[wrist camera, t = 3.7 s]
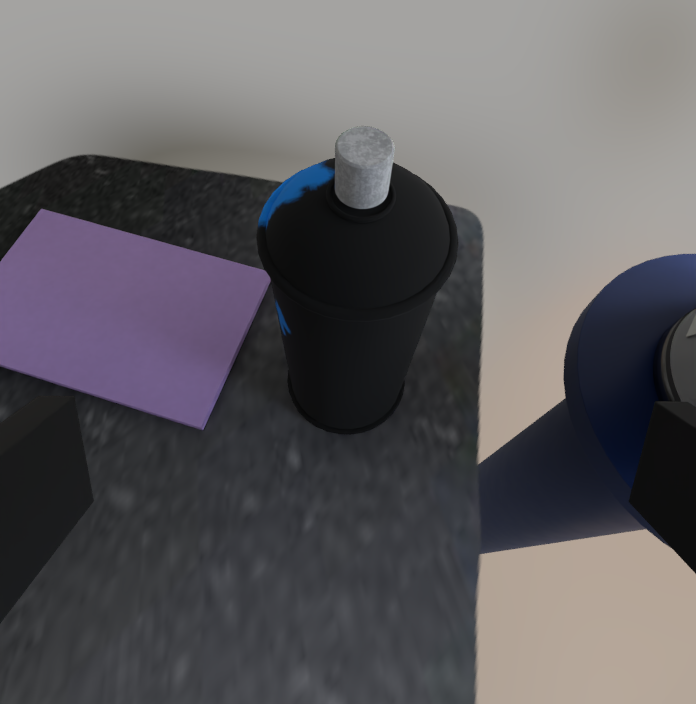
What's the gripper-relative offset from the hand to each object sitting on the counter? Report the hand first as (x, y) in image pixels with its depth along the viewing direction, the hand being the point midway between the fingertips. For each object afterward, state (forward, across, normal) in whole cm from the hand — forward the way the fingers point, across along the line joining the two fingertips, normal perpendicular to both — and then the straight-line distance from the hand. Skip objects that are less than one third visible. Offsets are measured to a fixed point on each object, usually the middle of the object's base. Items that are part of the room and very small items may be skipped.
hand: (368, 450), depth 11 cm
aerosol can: (+22, 0, -7) cm, 23 cm away
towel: (+25, -17, -3) cm, 31 cm away
